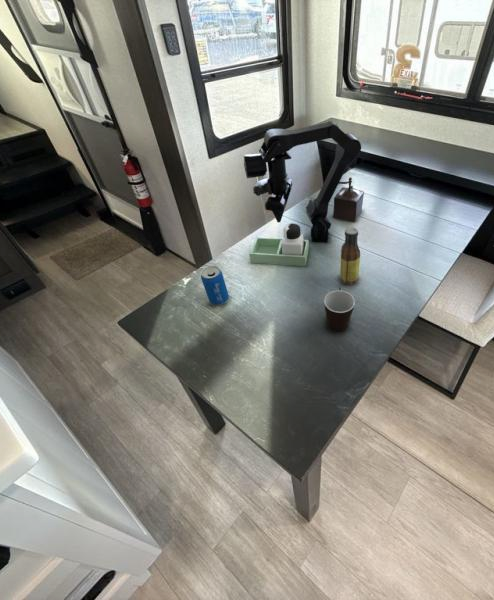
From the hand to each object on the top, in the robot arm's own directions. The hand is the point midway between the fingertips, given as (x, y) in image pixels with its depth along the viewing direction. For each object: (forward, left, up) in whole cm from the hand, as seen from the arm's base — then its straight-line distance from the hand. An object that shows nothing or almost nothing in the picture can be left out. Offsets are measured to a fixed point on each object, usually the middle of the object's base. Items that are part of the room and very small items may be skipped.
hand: (281, 215), depth 114 cm
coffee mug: (-24, +37, -13) cm, 46 cm away
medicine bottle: (-5, +7, -12) cm, 15 cm away
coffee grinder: (-22, -26, -13) cm, 36 cm away
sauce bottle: (-26, +18, -13) cm, 34 cm away
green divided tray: (0, +7, -13) cm, 15 cm away
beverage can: (+16, +32, -13) cm, 38 cm away
